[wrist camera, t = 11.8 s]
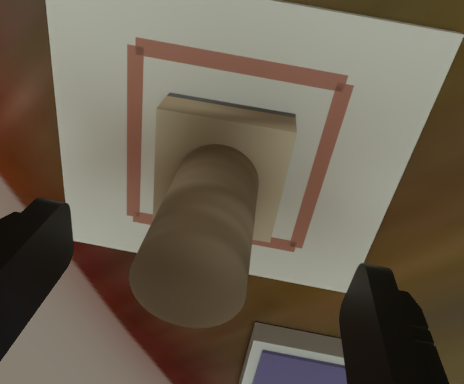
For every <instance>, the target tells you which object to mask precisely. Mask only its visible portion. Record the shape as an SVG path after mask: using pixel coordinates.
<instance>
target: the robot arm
mask: <svg viewBox="0 0 464 384" xmlns="http://www.w3.org/2000/svg"><path fill="white" fill-rule="evenodd" d="M73 250H74V243H73V232H72V221H71V211H70V206H69V204H68V203H65V202H60V201H55V200H50V199H45V198H37V199H35V200H34V201H33V202H32V203H31V204H30V205H29V206H28V207H27V208H26V209H25V210H24V211H22V212H21V213H19V212H13V213H11V214H9V215H7V216H5V217H3V218H1V219H0V361H1V359H2V358H3V357H4V355H5V354H6V353H7V351H8V350H9V348H10V347H11V345H12V344H13V343H14V342H15V340H16V339H17V337H18V336H19V335H20V333H21V332H22V330H23V329H24V328H25V326H26V325H27V323H28V322H29V321H30V319H31V318H32V316H33V315H34V314H35V312H36V311H37V309H38V308H39V307H40V305H41V304H42V302H43V301H44V300H45V298H46V297H47V295H48V294H49V293H50V291H51V290H52V288H53V287H54V286H55V284H56V283H57V281H58V280H59V279H60V277H61V276H62V274H63V273H64V271H65V270H66V269H67V267H68V266H69V264H70V261H71V259H72V255H73ZM339 325H340V333H341V341H342V348H343V356H344V363H345V371H346V379H347V384H449V382H448V379H447V376H446V374H445V371H444V368H443V365H442V363H441V360H440V357H439V355H438V352H437V349H436V346H434V341H433V338H432V336H431V333H430V331H428V325H427V322H426V319H425V317H424V314H423V311H422V309H421V308H420V306H419V305H418V304H417V303H416V301H415V300H414V299H413V298H412V296H411V295H410V294H409V293H408V292H405V291H400V290H398V287H397V284H396V281H395V278H394V275H393V272H392V270H391V269H389V268H384V267H379V266H374V265H369V264H364V263H361V264H359V266H358V267H357V269H356V272H355V274H354V276H353V278H352V281H351V283H350V285H349V288H348V290H347V292H346V295H345V297H344V299H343V302H342V305H341V309H340V316H339Z"/></svg>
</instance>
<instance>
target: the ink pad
mask: <svg viewBox="0 0 464 384" xmlns="http://www.w3.org/2000/svg"><path fill="white" fill-rule="evenodd" d="M238 384H347V379H346V371H345V363H344V356H343V348H342V341H341V339H340V338H335V337H329V336H324V335H319V334H314V333H309V332H304V331H298V330H293V329H288V328H283V327H278V326H273V325H268V324H262V323H257V322H255V324H254V328H253V331H252V335H251V339H250V342H249V346H248V350H247V353H246V357H245V361H244V365H243V368H242V372H241V376H240V379H239V383H238Z"/></svg>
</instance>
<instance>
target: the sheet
mask: <svg viewBox="0 0 464 384" xmlns="http://www.w3.org/2000/svg"><path fill="white" fill-rule="evenodd" d="M46 10H47V20H48V30H49V40H50V50H51V61H52V71H53V81H54V91H55V101H56V111H57V121H58V131H59V142H60V152H61V162H62V172H63V182H64V192H65V202H66V203H68V204H69V206H70V211H71V221H72V232H73V241H78V242H83V243H88V244H93V245H99V246H104V247H109V248H114V249H119V250H125V251H130V252H135V253H137V252H138V250H139V248H140V246H141V244H142V242H143V240H144V238H145V236H146V234H147V232H148V230H149V228H150V226H151V224H152V222H153V196H154V165H155V135H156V108H157V107H158V106H159V105H160V104H161V102H162V101H163V100H164V99H165V97H166V96H167V95H168V94H169V93H176V94H182V95H187V96H193V97H199V98H205V99H211V100H217V101H222V102H228V103H234V104H240V105H246V106H252V107H258V108H263V109H269V110H275V111H281V112H287V113H293V114H296V128H297V134H296V138H295V142H294V146H293V151H292V155H291V159H290V163H289V167H288V171H287V175H286V179H285V183H284V188H283V192H282V196H281V200H280V204H279V208H278V212H277V216H276V221H275V225H274V229H273V233H272V237H271V241H270V243H268V242H263V241H257V240H252V249H251V258H250V267H249V274H250V275H255V276H260V277H265V278H271V279H276V280H281V281H286V282H292V283H297V284H302V285H307V286H312V287H318V288H323V289H328V290H333V291H338V292H344V293H346V292H347V290H348V288H349V285H350V283H351V281H352V278H353V276H354V274H355V272H356V269H357V267H358V266H359V264H361V263H364V260H365V258H366V256H367V254H368V251H369V249H370V247H371V245H372V242H373V240H374V238H375V236H376V233H377V231H378V229H379V227H380V224H381V222H382V220H383V217H384V215H385V213H386V211H387V208H388V206H389V204H390V202H391V199H392V197H393V195H394V193H395V190H396V188H397V186H398V184H399V181H400V179H401V177H402V175H403V172H404V170H405V168H406V166H407V163H408V161H409V159H410V156H411V154H412V152H413V150H414V147H415V145H416V143H417V141H418V138H419V136H420V134H421V132H422V129H423V127H424V125H425V123H426V120H427V118H428V116H429V114H430V111H431V109H432V107H433V104H434V102H435V100H436V98H437V95H438V93H439V91H440V89H441V86H442V84H443V82H444V80H445V77H446V75H447V73H448V71H449V68H450V66H451V64H452V62H453V59H454V57H455V55H456V53H457V50H458V48H459V46H460V43H461V41H462V39H463V37H464V34H462V33H459V32H457V31H451V30H446V29H440V28H434V27H429V26H423V25H418V24H412V23H406V22H401V21H395V20H389V19H384V18H378V17H373V16H367V15H361V14H356V13H350V12H345V11H339V10H333V9H328V8H322V7H316V6H311V5H305V4H300V3H294V2H288V1H283V0H46Z"/></svg>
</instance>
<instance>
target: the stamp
mask: <svg viewBox="0 0 464 384" xmlns="http://www.w3.org/2000/svg"><path fill="white" fill-rule="evenodd" d="M296 134H297V128H296V114H293V113H287V112H281V111H275V110H269V109H263V108H258V107H252V106H246V105H240V104H234V103H228V102H222V101H217V100H211V99H205V98H199V97H193V96H187V95H182V94H176V93H169V94H168V95H167V96H166V97H165V99H164V100H163V101H162V102H161V104H160V105H159V106H158V107H157V108H156V135H155V165H154V196H153V222H152V224H151V226H150V228H149V230H148V232H147V234H146V236H145V238H144V240H143V242H142V244H141V246H140V248H139V250H138V252H137V254H136V256H135V258H134V260H133V262H132V264H131V267H130V270H129V284H130V288H131V290H132V292H133V294H134V296H135V298H136V299H137V301H138V302H139V303H140V304H141V305H142V306H143V307H144V308H145V309H146V310H147V311H148V312H150V313H151V314H153V315H154V316H156V317H157V318H159V319H161V320H163V321H165V322H168V323H171V324H174V325H177V326H181V327H187V328H208V327H214V326H218V325H220V324H223V323H225V322H227V321H229V320H231V319H232V318H233V317H235V316H236V315H237V314H238V313H239V312H240V310H241V309H242V307H243V305H244V303H245V300H246V294H247V285H248V276H249V267H250V258H251V249H252V240H257V241H263V242H268V243H270V241H271V237H272V233H273V229H274V225H275V221H276V216H277V212H278V208H279V204H280V200H281V196H282V192H283V188H284V183H285V179H286V175H287V171H288V167H289V163H290V159H291V155H292V151H293V146H294V142H295V138H296Z"/></svg>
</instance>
